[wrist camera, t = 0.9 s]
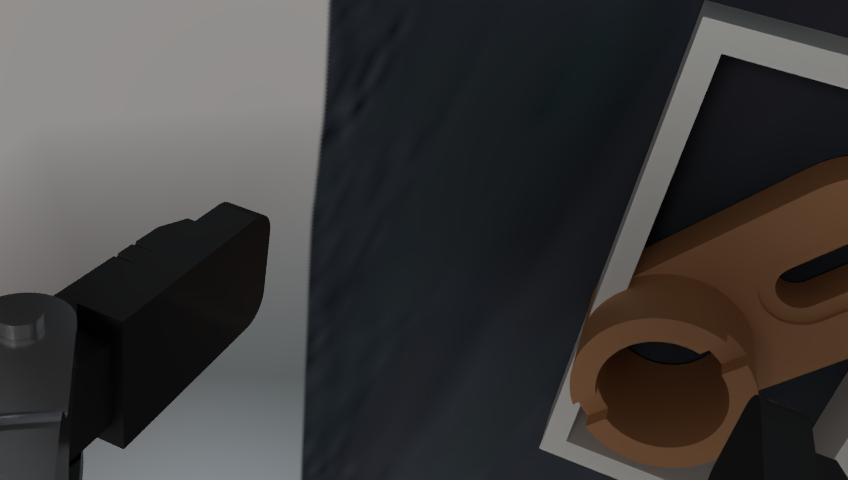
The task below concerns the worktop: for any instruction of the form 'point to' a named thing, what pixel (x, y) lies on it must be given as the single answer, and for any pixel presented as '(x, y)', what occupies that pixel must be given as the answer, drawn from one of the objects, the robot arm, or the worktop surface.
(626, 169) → the worktop surface
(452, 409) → the worktop surface
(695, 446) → the bracket
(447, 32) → the worktop surface
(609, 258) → the frame
